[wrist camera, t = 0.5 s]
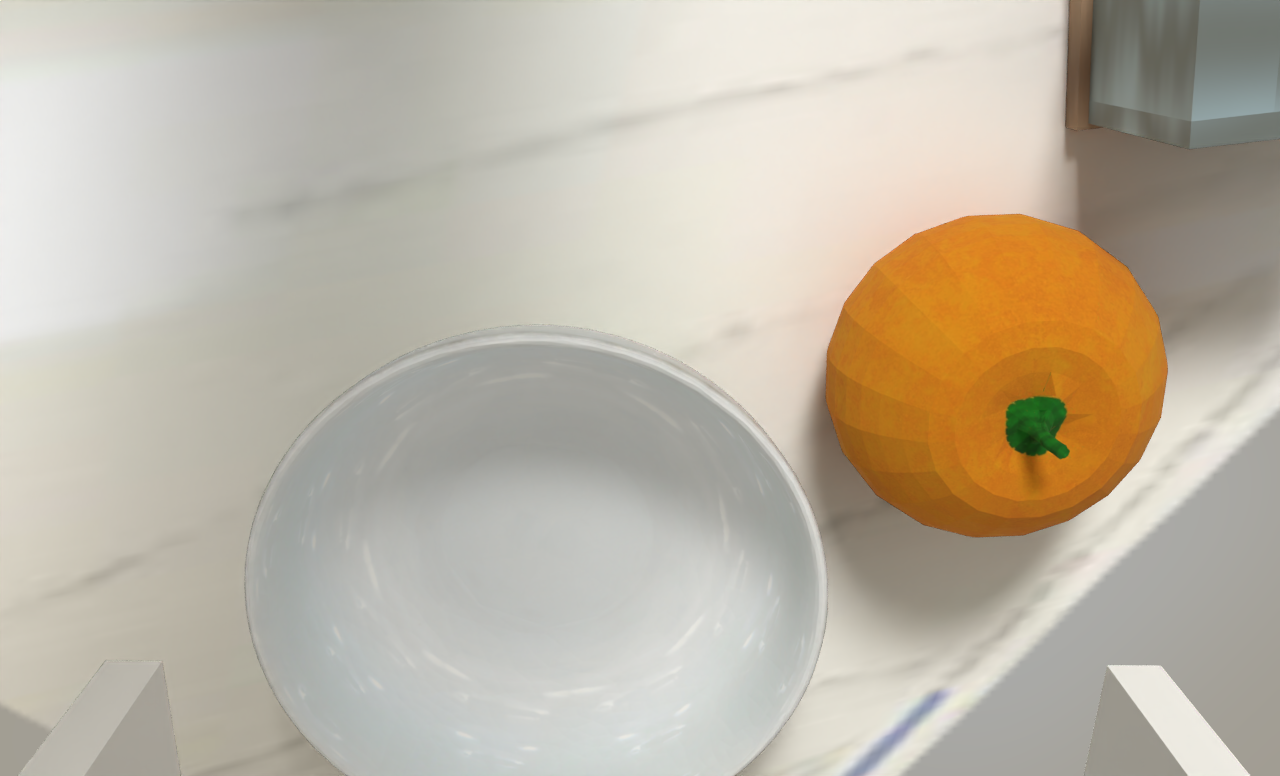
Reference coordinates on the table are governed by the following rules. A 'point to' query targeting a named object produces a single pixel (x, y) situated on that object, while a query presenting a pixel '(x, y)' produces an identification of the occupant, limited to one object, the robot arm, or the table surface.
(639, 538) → the serving bowl
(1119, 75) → the base
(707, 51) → the table surface
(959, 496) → the fruit
